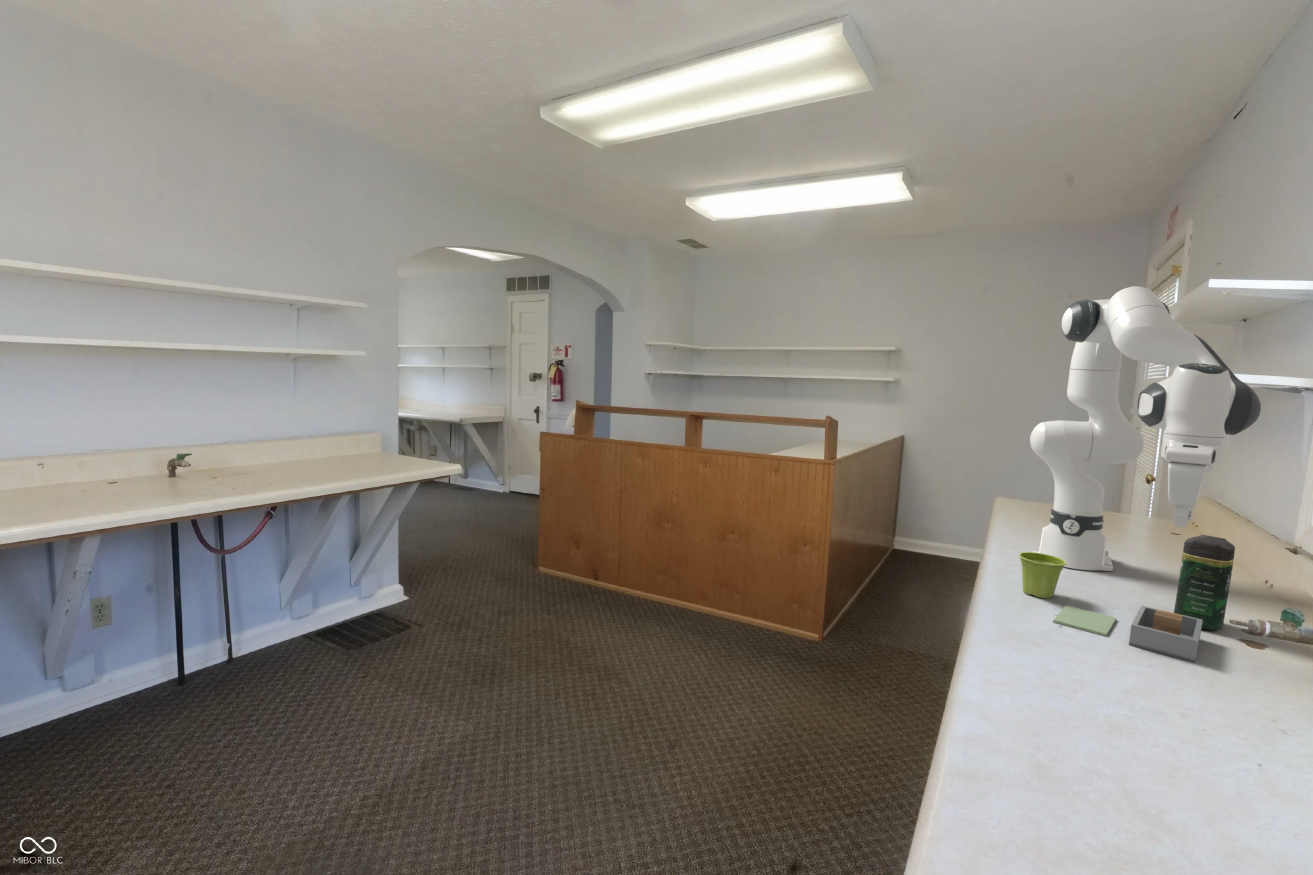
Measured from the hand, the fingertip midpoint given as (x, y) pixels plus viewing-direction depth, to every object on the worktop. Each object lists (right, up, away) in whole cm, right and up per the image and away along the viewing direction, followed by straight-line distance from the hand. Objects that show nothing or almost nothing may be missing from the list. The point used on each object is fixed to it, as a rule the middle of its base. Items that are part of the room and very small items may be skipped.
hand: (1182, 522), depth 118 cm
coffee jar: (+14, -23, +13) cm, 30 cm away
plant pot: (-11, -21, +27) cm, 36 cm away
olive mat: (-10, -22, +12) cm, 27 cm away
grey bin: (-1, -24, +3) cm, 24 cm away
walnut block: (-1, -23, +3) cm, 23 cm away
